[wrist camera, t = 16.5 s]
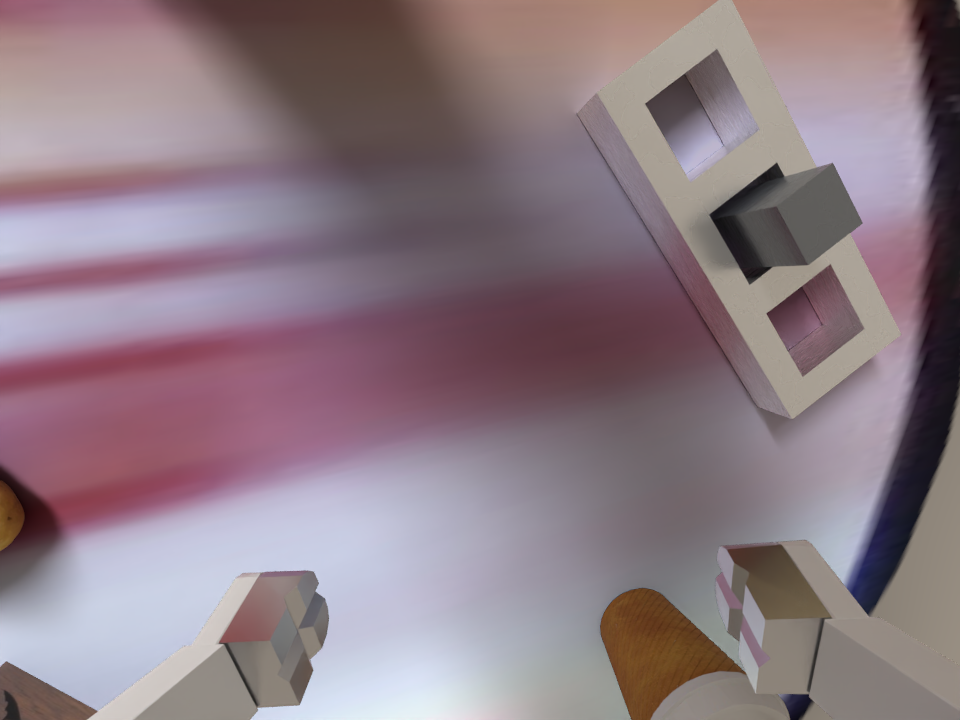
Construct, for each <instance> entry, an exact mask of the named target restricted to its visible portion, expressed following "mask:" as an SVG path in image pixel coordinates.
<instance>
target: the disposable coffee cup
mask: <svg viewBox="0 0 960 720" xmlns="http://www.w3.org/2000/svg"><path fill="white" fill-rule="evenodd" d="M600 629H601V637H602V640H603V642H604V645H605V648H606V651H607V653H608V656H609V659H610V662H611V664H612V667H613V670H614V673H615V675H616V678H617V681H618V684H619V686H620V689H621V692H622V695H623V698H624V700H625V703H626V706H627V708H628V711H629V714H630V716H631V719H632V720H790V717H789V713H788V710H787V708H786V706H785V703H784V702H783V701H782V699H781V698H780V697H779V696H778V694H756V693H755V691H754V689H753V687H752V685H751V682H750V680H749V678H748V676H747V674H746V672H744V671H743V670H742V669H741V668H740V667H739V666H738V665H737V664H735V663H734V661H733V660H732V659H730V658H729V657H728V656H727V654H725V653H724V652H723V651H721V649H720V648H719V647H718V646H716V645H714V642H712V641H711V640H710V639H708V637H707V636H706V635H705V634H702V631H700V630H699V629H698V628H696V626H695V625H694V624H693V623H691V621H690V620H688V619H687V618H686V617H685V616H684V615H683V614H682V613H680V611H679V610H678V609H676V608H675V606H673V605H672V604H670V602H669V601H668V600H667V599H666V598H665V597H664V596H663V595H662V594H660V593H659V592H657V591H654V590H651V589H645V588H639V589H634V590H630V591H628V592H625V593H623V594H621V595H620V596H618V597H617V598H616V599H614V600H613V601H612V602H611V604H610V605H609V606H608V607H607V609H606V610H605V612H604V614H603V617H602V620H601V625H600Z"/></svg>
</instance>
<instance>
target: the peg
mask: <svg viewBox="0 0 960 720" xmlns="http://www.w3.org/2000/svg"><path fill="white" fill-rule="evenodd" d="M709 216H710V217H711V219H712V221H713V222H714V224H715V226H716V228H717V229H718V231H719V233H720V235H721V236H722V238H723V240H724V242H725V243H726V245H727V247H728V248H729V250H730V252H731V254H732V255H733V257H734V259H735V261H736V262H737V264H738V266H739V268H755V267H779V266H803V265H809V264H811V263H812V262H813V261H814V260H816V259H817V258H818V257H820V256H821V255H822V254H824V253H825V252H826V251H827V250H829V249H830V248H831V247H833V246H834V245H835V244H836V243H838V242H839V241H840V240H842V239H843V238H844V237H846V236H847V235H848V234H849V233H851V232H852V231H853V230H855V229H856V228H857V227H858V226H860V225H861V224H862V221H861V219H860V217H859V215H858V213H857V211H856V209H855V207H854V205H853V203H852V201H851V199H850V197H849V195H848V193H847V191H846V189H845V187H844V185H843V183H842V181H841V178H840V176H839V174H838V172H837V170H836V168H835V166H834V164H833V163H831V164H827V165H824V166H820V167H817V168H813V169H810V170H806V171H803V172H799V173H795V174H792V175H788V176H785V177H781V178H778V179H774V180H771V181H767V182H764V183H760V184H756V185H753V186H749V187H746V188H743V189H742V190H740V191H739V192H738V193H736V194H735V195H734V196H733V197H731V198H730V199H729V200H727V201H726V202H725V203H723V204H722V205H721V206H720V207H718V208H717V209H716V210H714V211H713V212H712V213H710V214H709Z"/></svg>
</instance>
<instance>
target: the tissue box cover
mask: <svg viewBox="0 0 960 720" xmlns="http://www.w3.org/2000/svg"><path fill="white" fill-rule="evenodd" d="M97 712H98V711H96V710H94V709H93V708H91V707H89V706H87V705H85V704H83V703H82V702H80V701H78V700H76V699H74V698H72V697H71V696H69V695H67V694H65V693H63V692H61V691H60V690H58V689H56V688H54V687H52V686H50V685H49V684H47V683H45V682H43V681H41V680H39V679H38V678H36V677H34V676H32V675H30V674H29V673H27V672H25V671H23V670H21V669H19V668H18V667H16V666H14V665H12V664H10V663H8V662H7V661H6V662H5V663H4V664H3V665H2V666H1V667H0V720H87V719H89V718H90V717H91V716H93V715H94V714H95V713H97Z"/></svg>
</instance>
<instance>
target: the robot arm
mask: <svg viewBox="0 0 960 720" xmlns="http://www.w3.org/2000/svg"><path fill="white" fill-rule="evenodd" d="M717 562H718V564H719V566H720V568H721V570H722V573H721V574H720V575H719V576H718V577H717V578H716V583H715V593H716V599H717V605H718V609H719V612H720V615H721V618H722V621H723V623H724V625H725V628H726V630H727V632H728V633H729V634H730V635H732V636H733V637H734V638H735V639H737V640H738V641H739V653H738V656H739V659H740V661H741V663H742V665H743V667H744V669H745V672H746V674H747V676H748V678H749V680H750V682H751V685H752V687H753V689H754V691H755V693H756V694H809V697H810V698H811V699H812V700H813V701H814V702H815V703H816V704H817V705H818V706H819V707H821V708H822V709H823V710H824V711H825V712H826V713H827V714H828V715H829V716H830V717H831V718H833V719H834V720H960V665H958V664H956V663H955V662H953V661H951V660H950V659H948V658H946V657H945V656H942V655H941V654H940V653H938V652H936V651H934V650H933V649H931V648H929V647H928V646H926V645H925V644H923V643H921V642H919V641H918V640H916V639H914V638H913V637H911V636H910V635H908V634H906V633H904V632H903V631H901V630H899V629H898V628H896V627H894V626H893V625H891V624H889V623H888V622H886V621H884V620H883V619H881V618H879V617H869V616H868V615H867V614H866V613H865V611H864V610H863V609H862V607H861V606H860V605H859V604H858V602H857V601H856V600H855V599H854V597H853V596H852V595H851V593H850V592H849V591H848V590H847V588H846V587H845V586H844V585H843V583H842V582H841V581H840V579H839V578H838V577H837V576H836V574H835V573H834V572H833V571H832V569H831V568H830V567H829V565H828V564H827V563H826V562H825V560H824V559H823V558H822V556H821V555H820V554H819V553H818V551H817V550H816V549H815V548H814V546H813V545H812V544H811V543H809V542H808V541H806V540H799V541H784V542H776V543H774V542H768V543H754V544H739V545H725V546H720V548H719V550H718V554H717ZM318 584H319V582H318V580H317V578H316V575H315V573H314V572H313V571H280V572H262V573H242V574H241V575H240V576H238V577H237V578H236V579H235V580H234V581H233V583H232V584H231V586H230V587H229V589H228V590H227V592H226V593H225V595H224V597H223V598H222V600H221V601H220V603H219V604H218V606H217V607H216V609H215V610H214V612H213V613H212V615H211V616H210V618H209V619H208V621H207V622H206V624H205V625H204V627H203V628H202V630H201V631H200V633H199V634H198V636H197V637H196V639H195V641H194V642H193V644H192V645H188V646H183V647H182V648H181V649H179V650H178V651H177V652H175V653H174V654H173V655H171V656H170V657H169V658H168V659H166V660H165V661H164V662H162V663H161V664H160V665H158V666H157V667H156V668H154V669H153V670H152V671H150V672H149V673H148V674H146V675H145V676H144V677H143V678H141V679H140V680H139V681H137V682H136V683H135V684H133V685H132V686H131V687H129V688H128V689H127V690H125V691H124V692H123V693H122V694H120V695H119V696H118V697H116V698H115V699H114V700H112V701H111V702H110V703H108V704H107V705H106V706H104V707H103V708H102V709H101V710H99V711H98V712H97V713H95V714H94V715H93V716H91V717H90V718H89V719H87V720H250V719H251V718H252V717H253V716H254V714H255V713H256V712H257V711H258V709H257V708H260V707H277V706H294V705H300V703H301V700H302V698H303V695H304V693H305V690H306V688H307V685H308V682H309V680H310V677H311V675H312V672H313V668H312V664H311V660H310V659H311V658H312V657H313V656H314V655H315V654H316V653H317V652H318V651H319V650H320V649H321V648H322V646H323V643H324V641H325V638H326V635H327V629H328V622H329V614H328V606H327V604H326V601H325V598H323V597H322V596H321V595H319V594H318V593H317V592H315V591H316V589H317V586H318Z"/></svg>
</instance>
